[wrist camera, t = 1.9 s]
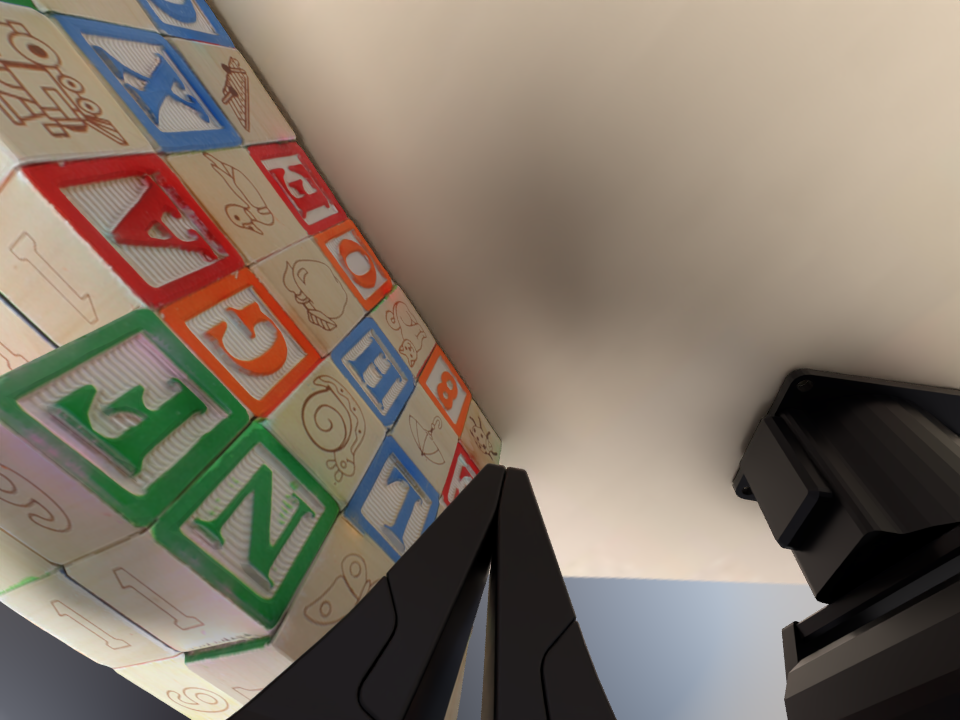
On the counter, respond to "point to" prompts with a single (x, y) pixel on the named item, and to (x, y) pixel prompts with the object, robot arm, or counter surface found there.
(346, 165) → the counter surface
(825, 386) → the robot arm
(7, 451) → the stack of blocks
